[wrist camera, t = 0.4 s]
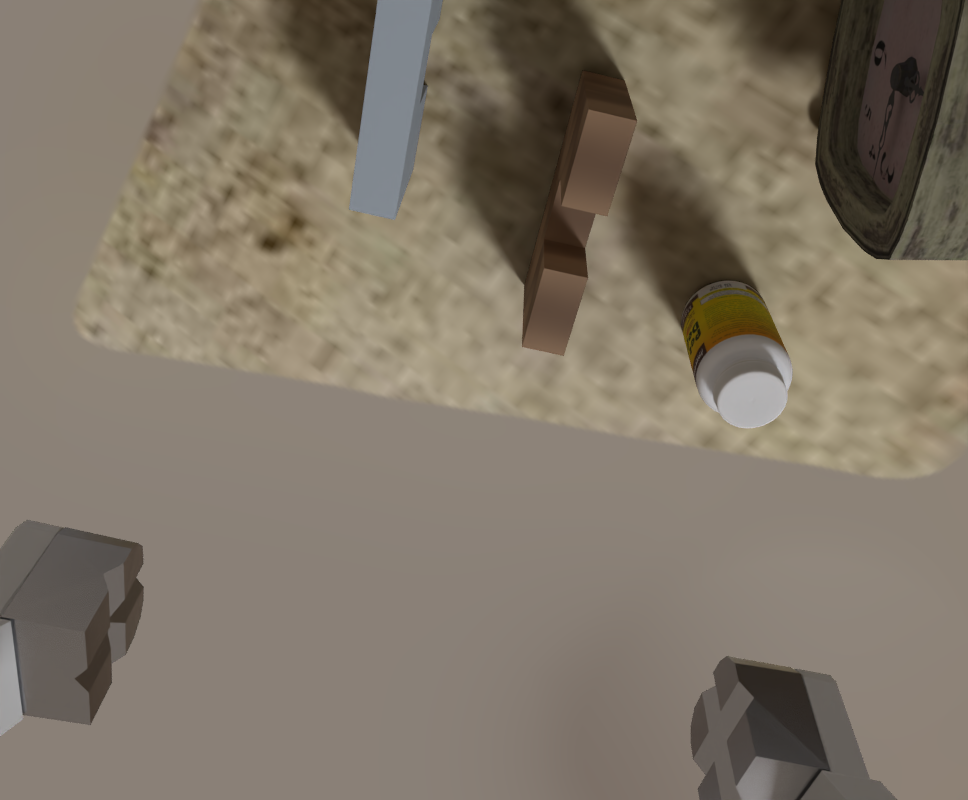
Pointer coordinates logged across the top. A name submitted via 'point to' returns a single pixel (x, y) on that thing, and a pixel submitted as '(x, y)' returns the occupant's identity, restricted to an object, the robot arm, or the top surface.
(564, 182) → the walnut board
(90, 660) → the robot arm
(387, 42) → the slate board
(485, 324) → the top surface
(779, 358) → the supplement bottle
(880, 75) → the tabletop clock
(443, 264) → the top surface
